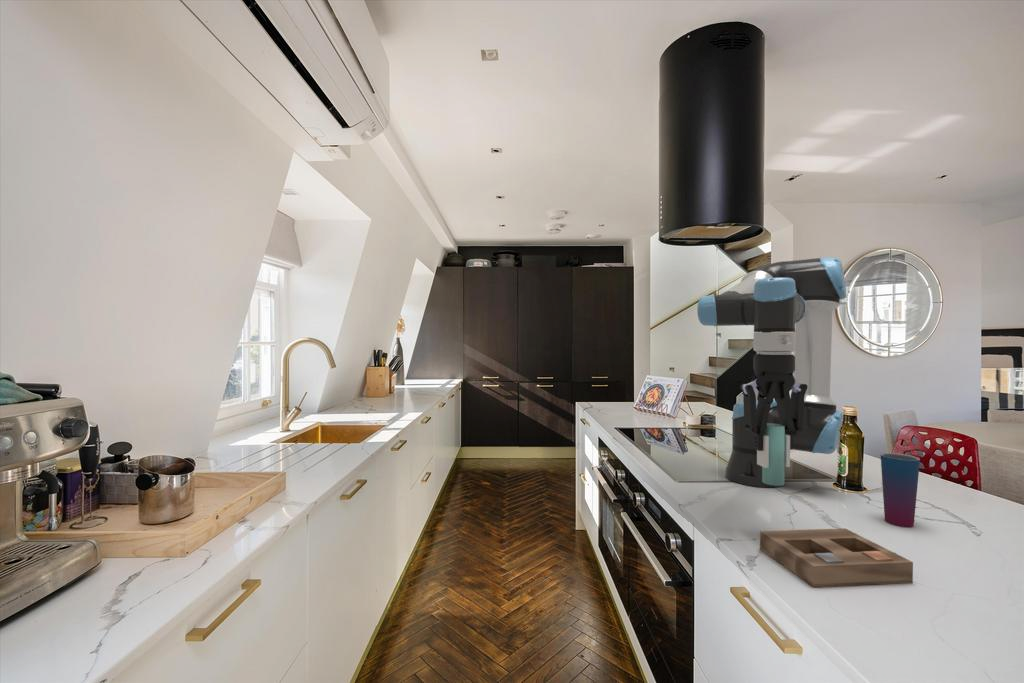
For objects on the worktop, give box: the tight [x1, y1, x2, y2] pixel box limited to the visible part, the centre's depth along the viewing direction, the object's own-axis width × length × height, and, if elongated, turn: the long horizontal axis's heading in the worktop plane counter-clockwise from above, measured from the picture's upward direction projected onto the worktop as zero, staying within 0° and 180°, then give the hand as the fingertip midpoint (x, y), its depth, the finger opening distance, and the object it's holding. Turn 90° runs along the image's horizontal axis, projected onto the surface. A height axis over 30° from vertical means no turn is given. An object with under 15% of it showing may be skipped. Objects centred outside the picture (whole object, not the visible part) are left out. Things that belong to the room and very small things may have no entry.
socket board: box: [759, 527, 914, 588], centre depth 84 cm, size 14×18×4 cm
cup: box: [880, 452, 921, 528], centre depth 104 cm, size 7×7×15 cm
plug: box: [762, 423, 785, 487], centre depth 96 cm, size 4×4×12 cm
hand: (773, 465), depth 96 cm, fingers closed on plug, 4 cm apart
